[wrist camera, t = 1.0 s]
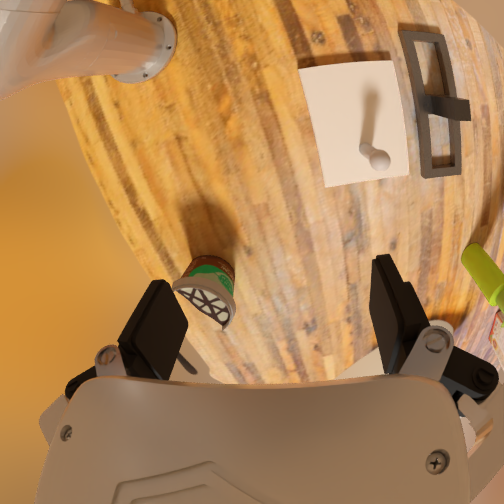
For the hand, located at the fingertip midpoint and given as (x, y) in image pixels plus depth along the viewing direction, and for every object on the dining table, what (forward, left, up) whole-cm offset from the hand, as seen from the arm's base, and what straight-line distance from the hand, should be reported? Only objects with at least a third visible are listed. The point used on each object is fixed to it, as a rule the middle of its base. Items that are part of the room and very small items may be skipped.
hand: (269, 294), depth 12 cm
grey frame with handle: (-4, +27, -31) cm, 41 cm away
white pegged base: (-2, +13, -31) cm, 34 cm away
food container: (+19, -15, -31) cm, 40 cm away
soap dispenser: (+27, +37, -31) cm, 55 cm away
